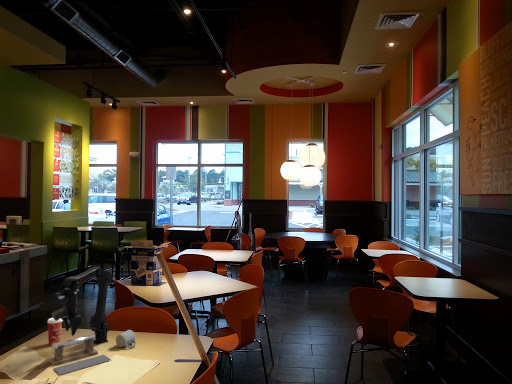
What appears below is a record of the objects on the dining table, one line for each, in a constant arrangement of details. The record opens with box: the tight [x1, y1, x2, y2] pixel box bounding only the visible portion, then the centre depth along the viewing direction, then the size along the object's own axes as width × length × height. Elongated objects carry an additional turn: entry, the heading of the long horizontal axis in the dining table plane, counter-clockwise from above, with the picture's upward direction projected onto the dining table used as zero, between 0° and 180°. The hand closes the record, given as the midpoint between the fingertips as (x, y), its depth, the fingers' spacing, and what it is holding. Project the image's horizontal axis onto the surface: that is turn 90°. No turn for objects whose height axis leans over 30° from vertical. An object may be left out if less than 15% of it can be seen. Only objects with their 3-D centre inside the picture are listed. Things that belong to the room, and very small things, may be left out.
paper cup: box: [47, 317, 64, 347], centre depth 210 cm, size 8×8×14 cm
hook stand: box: [48, 338, 99, 367], centre depth 191 cm, size 21×8×8 cm, turn 135°
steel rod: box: [51, 333, 95, 351], centre depth 192 cm, size 20×3×3 cm, turn 135°
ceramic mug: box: [115, 329, 137, 349], centre depth 208 cm, size 11×8×8 cm
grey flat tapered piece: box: [53, 354, 112, 376], centre depth 183 cm, size 24×9×1 cm, turn 135°
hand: (70, 333), depth 192 cm, fingers open, 9 cm apart
